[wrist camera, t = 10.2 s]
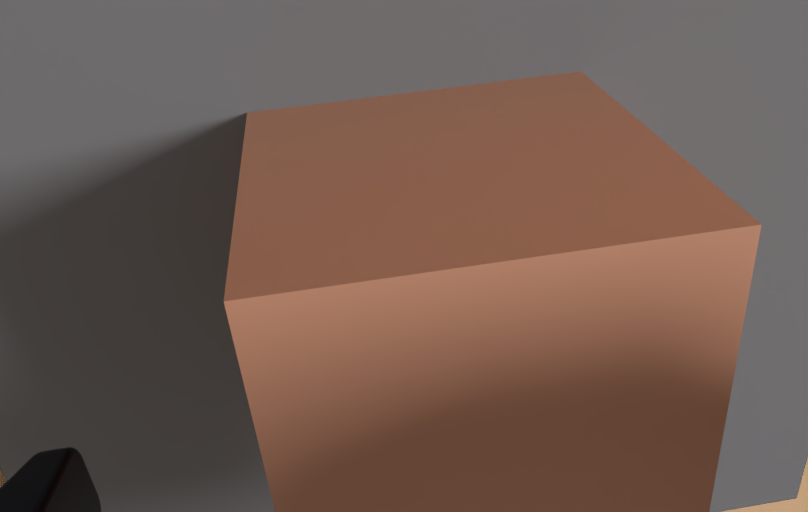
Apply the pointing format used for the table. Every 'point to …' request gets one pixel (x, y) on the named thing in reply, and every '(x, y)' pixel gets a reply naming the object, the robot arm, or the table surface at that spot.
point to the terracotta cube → (484, 303)
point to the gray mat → (218, 183)
